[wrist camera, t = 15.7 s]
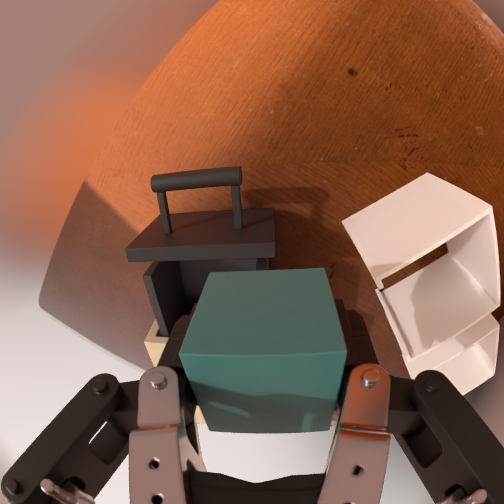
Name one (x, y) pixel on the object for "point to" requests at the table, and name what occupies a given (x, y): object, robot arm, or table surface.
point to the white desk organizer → (436, 277)
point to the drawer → (199, 243)
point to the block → (265, 351)
